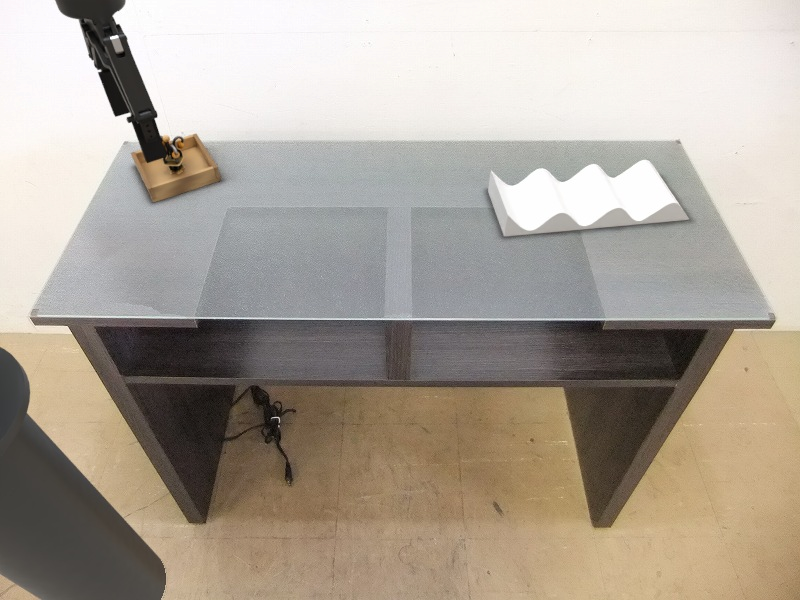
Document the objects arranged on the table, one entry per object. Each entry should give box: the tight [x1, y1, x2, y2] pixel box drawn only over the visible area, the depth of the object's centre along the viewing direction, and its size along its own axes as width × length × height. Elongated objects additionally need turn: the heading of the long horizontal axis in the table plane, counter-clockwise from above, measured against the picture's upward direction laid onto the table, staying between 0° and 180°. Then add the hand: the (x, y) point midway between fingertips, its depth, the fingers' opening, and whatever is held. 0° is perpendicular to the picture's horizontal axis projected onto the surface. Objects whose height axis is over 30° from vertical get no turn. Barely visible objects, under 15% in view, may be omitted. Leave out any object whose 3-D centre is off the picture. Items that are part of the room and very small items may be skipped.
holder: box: [130, 133, 222, 203], centre depth 120 cm, size 14×14×3 cm
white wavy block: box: [487, 159, 690, 237], centre depth 111 cm, size 13×35×5 cm, turn 97°
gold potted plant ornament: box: [160, 134, 185, 174], centre depth 117 cm, size 5×5×8 cm
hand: (139, 135), depth 84 cm, fingers open, 13 cm apart
